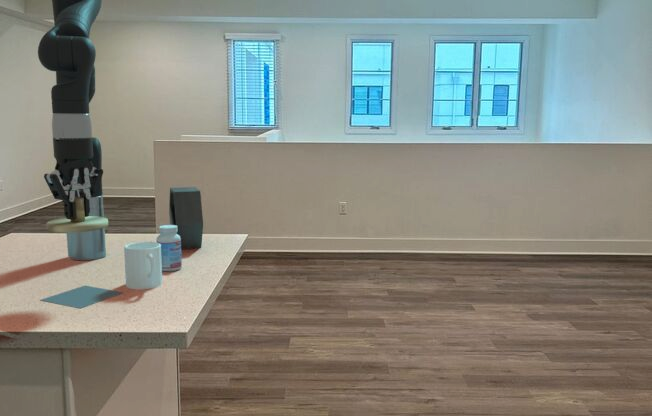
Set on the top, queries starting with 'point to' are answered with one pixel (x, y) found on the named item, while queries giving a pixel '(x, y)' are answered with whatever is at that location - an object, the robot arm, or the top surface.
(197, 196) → the planter
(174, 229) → the pill bottle
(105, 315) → the top surface
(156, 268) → the mug
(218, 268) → the top surface
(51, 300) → the mat
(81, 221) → the lid
